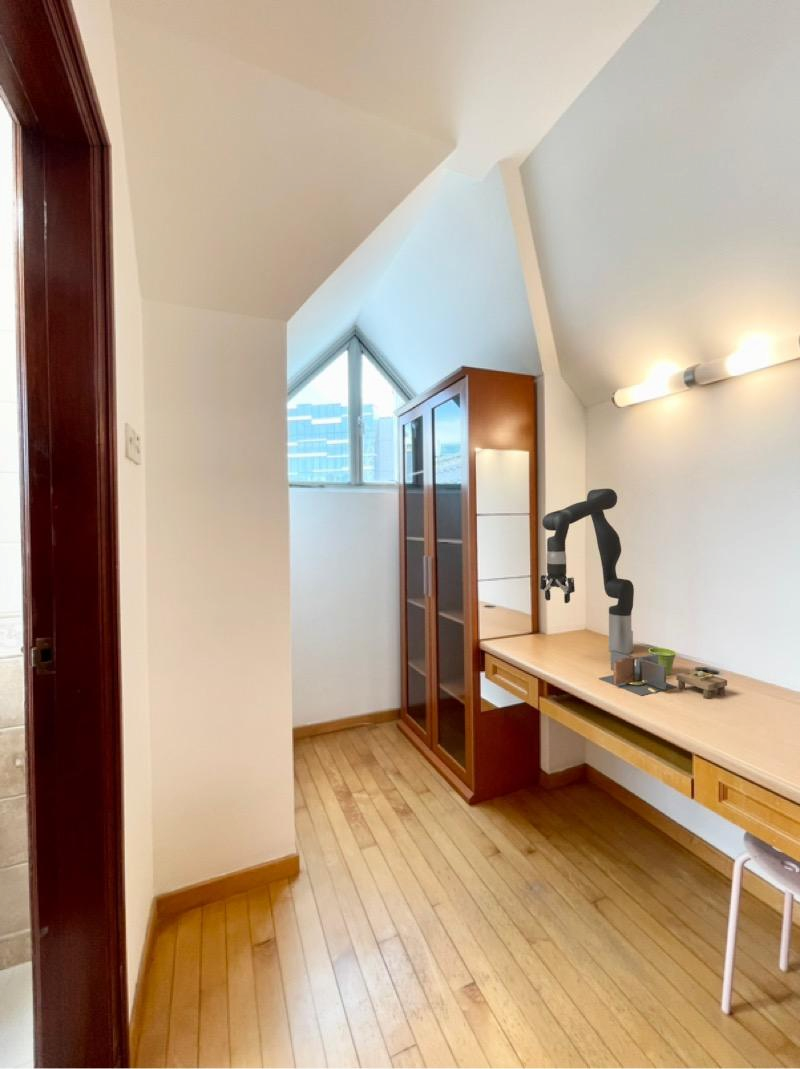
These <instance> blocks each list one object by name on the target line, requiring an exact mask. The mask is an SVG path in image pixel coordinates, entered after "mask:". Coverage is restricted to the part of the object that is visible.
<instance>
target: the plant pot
mask: <svg viewBox="0 0 800 1069" xmlns="http://www.w3.org/2000/svg"><path fill="white" fill-rule="evenodd" d="M648 652H649V655H652V654H658V664H659V665H662V666H665V667H666V676H670V675H672V673H673V666H674V660H675V658H676V656H677V654H678V653H677V652H676V651H675V650H673V649H669V648H664V647H651V648H648Z"/></svg>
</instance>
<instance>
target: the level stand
mask: <svg viewBox="0 0 800 1069" xmlns="http://www.w3.org/2000/svg"><path fill="white" fill-rule="evenodd" d="M675 679H676V681H678V683H677V684H678V685H677V686H678V687H677V688H678V689H679V690H682V691H685V690H686V684H687V685H690V686H692V687H697V688H699V689H702V695H703V699H707V700H710V699H711V697H712V696H711V695H712V694H711V691H713V690H717V694H718V695H721V696H725V692H726V687H727V686H728V679H724V678H721V677H718V676H715V675H714V674H711V673H707V672H706V671H703V670H689V671H686V672H681V673H678V674H676V676H675Z"/></svg>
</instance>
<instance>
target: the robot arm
mask: <svg viewBox="0 0 800 1069" xmlns="http://www.w3.org/2000/svg"><path fill="white" fill-rule="evenodd" d="M617 503H618V495H617V492H616V491H615V490H614V489H612V488H599V489H597V488H596V489H592V490H589V492H588V493H587V495H586V500H584V501H581V502H575V503H573V504H571V505H569V506H567V507H565V508H563V509H559V510H555V511H552V512H549V513H547V514H546V515H544V517H543V518H542V522H541V523H542V527H543V528H544V529H545V530H546V531H555V532H554V535H553V536H549V537H548V538H547V540H546V546H547V547H546V548H547V549H546V572H547V573H546V574H547V575H546V574H541V575H540V589H541V590H542V591H544V598H545V600H546V601H551V591H550V590H551V589H552V588H555V587H556V588H560V590H562V592H563V593H564V594H563V595H564V597H563V598H564V599H563V600H564V604H568V603H570V601H571V594H572V593H575V591H576V590H575V579H574V577H573V576H572V577H567V554H566V553H567V552H566V539H567V536H568V532H569V528H570V525H571V524H574V523H575V522H578V521H580V520H581V519H583V518H584V519H585V518H587V517H588V516H590V517H591V522H592V523H593V528H594V532H595V536H596V543H597V548H598V553H599V557H600V561H601V562H600V563H601V568H602V575H603V576H602V578H603V588H604V592H605V594H606V595H607V596H608V597H609V598H613V599H617V603H616V604H615V605H612V606H611V605H610V606H609V607H608V651H609V652H611V650H614V651H618V652H621V653H624V654H627V655H629V654H631V653H632V652H633V651H634V631H633V630H632V612H633V611H632V610H633V608H634V598H635V597H634V595H635V590H634V589H635V588H634V587H635V586H634V584H633V582H632V581H631V580H630V579H625V578H620V577H619V578H618V576H617V572H616V571H617V570H616V566H617V564H618V562H619V559H620V557H621V554H622V545H621V540H620V536H619V534H618V533H617V531H616V530H615V529H614V527H613V526H612V525H611V524H610V522H609V521H608V520H607V518H606V516H605V513H604V511H606V510H610V509H613V508H615V506H616V505H617ZM547 581H548V582H547Z"/></svg>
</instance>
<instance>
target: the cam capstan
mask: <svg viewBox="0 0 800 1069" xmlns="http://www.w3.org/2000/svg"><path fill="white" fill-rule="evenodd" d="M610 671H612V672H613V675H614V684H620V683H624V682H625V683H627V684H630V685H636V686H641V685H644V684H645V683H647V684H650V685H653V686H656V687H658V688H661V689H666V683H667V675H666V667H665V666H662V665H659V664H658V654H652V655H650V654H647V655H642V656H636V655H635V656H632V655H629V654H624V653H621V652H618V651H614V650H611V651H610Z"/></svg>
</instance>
